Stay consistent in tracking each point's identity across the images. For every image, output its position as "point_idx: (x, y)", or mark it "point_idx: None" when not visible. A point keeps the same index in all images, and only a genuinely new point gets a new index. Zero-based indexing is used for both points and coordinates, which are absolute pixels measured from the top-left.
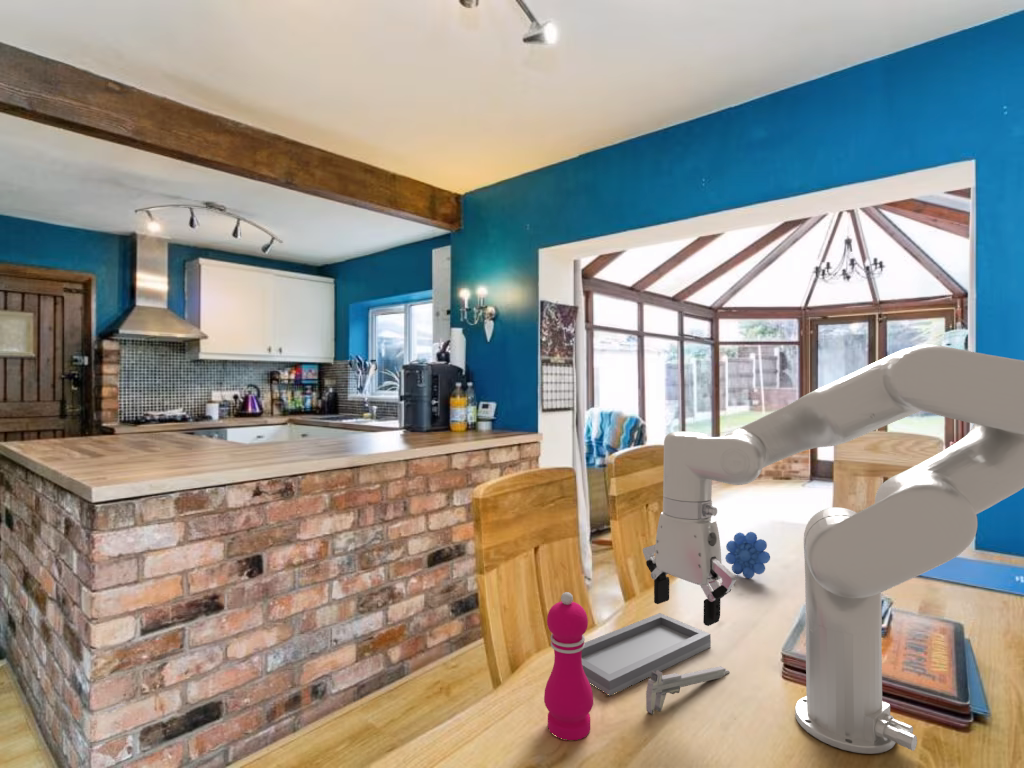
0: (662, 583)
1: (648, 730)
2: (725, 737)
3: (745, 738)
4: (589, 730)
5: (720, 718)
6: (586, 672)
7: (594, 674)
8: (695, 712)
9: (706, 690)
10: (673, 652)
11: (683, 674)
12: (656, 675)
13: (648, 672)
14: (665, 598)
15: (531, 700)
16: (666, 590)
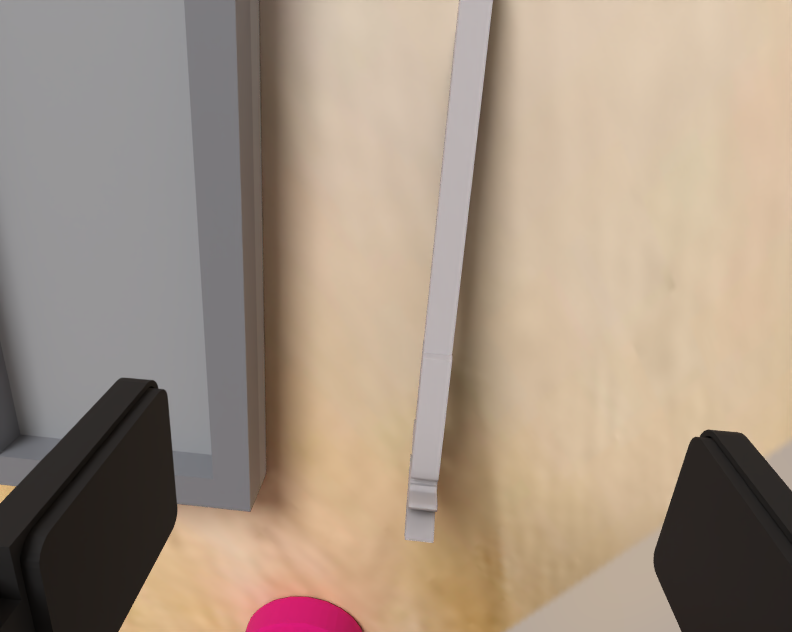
0: (79, 629)
1: (469, 523)
2: (681, 403)
3: (742, 363)
4: (359, 629)
5: (625, 321)
6: None
7: None
8: (534, 352)
9: (492, 183)
10: (240, 104)
11: (430, 302)
12: (432, 539)
13: (257, 288)
14: (157, 446)
15: (140, 620)
16: (119, 488)
